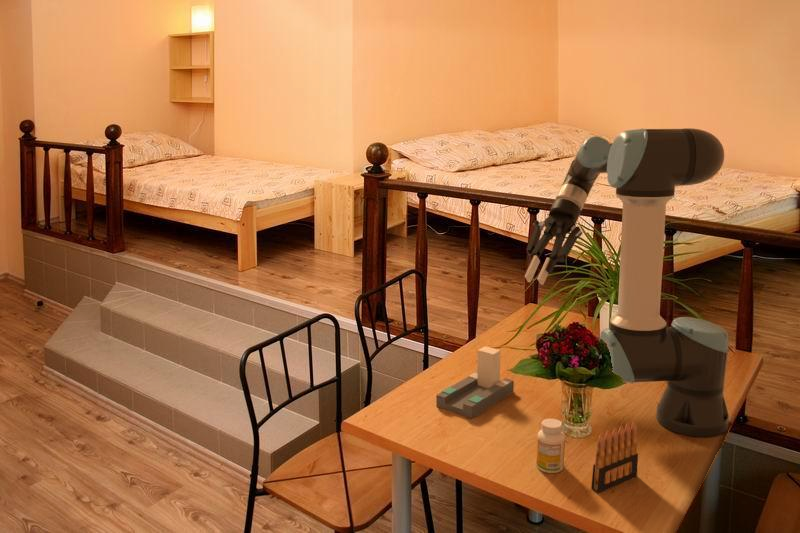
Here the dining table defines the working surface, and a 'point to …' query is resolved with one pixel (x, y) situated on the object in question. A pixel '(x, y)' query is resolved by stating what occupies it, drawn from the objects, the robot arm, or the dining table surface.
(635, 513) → the dining table surface
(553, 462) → the supplement bottle
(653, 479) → the dining table surface
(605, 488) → the ammunition clip
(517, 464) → the dining table surface
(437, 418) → the dining table surface
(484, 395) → the switch base
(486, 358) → the switch tab
